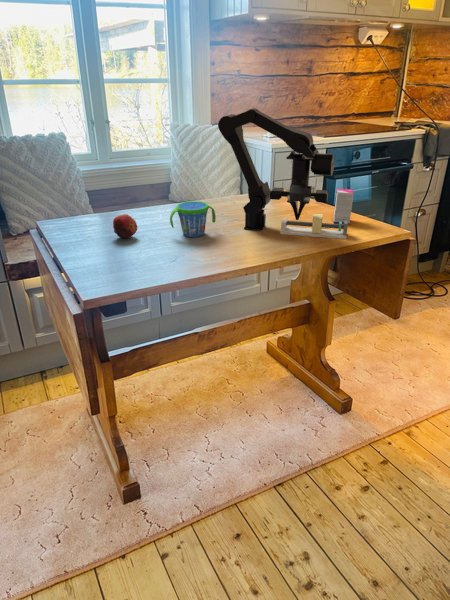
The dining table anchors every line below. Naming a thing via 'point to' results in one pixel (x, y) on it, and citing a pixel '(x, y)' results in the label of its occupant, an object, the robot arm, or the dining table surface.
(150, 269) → the dining table surface
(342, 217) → the supplement box
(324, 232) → the linear slide rail
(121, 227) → the fruit
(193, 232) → the snack cup
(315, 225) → the sleeve
